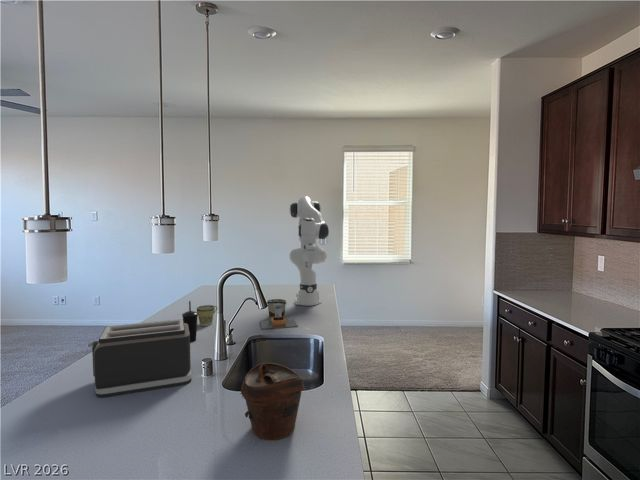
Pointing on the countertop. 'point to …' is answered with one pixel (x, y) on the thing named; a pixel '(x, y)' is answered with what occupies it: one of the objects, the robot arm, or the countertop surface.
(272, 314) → the food container
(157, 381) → the toaster
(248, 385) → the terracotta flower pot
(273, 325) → the grey base plate
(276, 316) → the square-headed pin
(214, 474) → the countertop surface
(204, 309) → the ceramic cup
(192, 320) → the drinking cup
